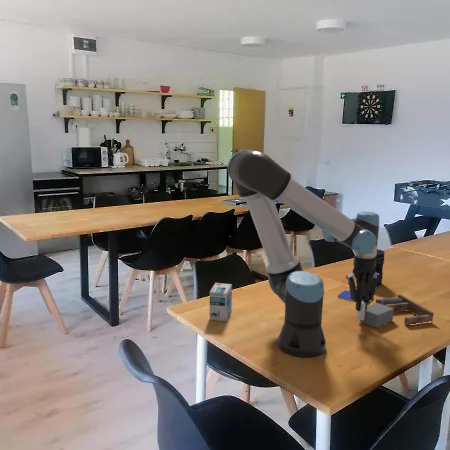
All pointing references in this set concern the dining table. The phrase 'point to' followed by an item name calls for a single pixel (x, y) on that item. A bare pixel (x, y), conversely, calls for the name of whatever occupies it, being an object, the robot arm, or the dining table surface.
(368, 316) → the plain gray cuboid
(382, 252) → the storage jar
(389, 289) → the dining table surface
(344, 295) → the hard drive
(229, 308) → the light bulb box
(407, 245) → the dining table surface
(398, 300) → the plain gray cylinder
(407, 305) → the rack
